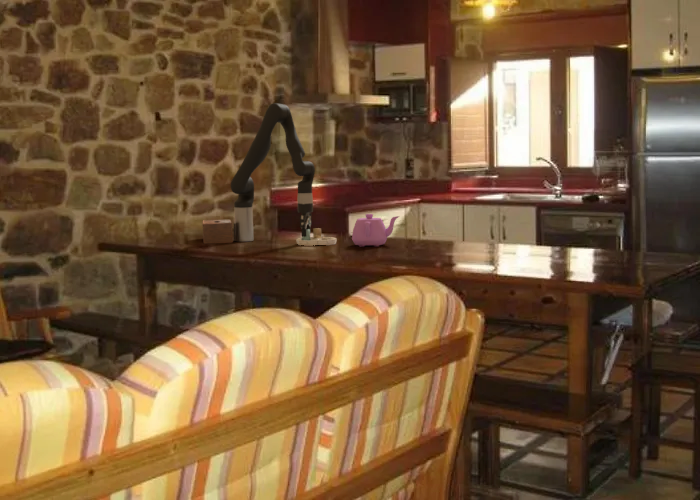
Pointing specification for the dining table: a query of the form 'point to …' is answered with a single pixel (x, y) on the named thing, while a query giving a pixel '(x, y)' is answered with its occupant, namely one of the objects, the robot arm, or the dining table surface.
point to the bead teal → (307, 235)
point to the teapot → (371, 231)
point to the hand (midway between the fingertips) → (306, 235)
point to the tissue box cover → (217, 231)
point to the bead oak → (317, 233)
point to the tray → (317, 241)
